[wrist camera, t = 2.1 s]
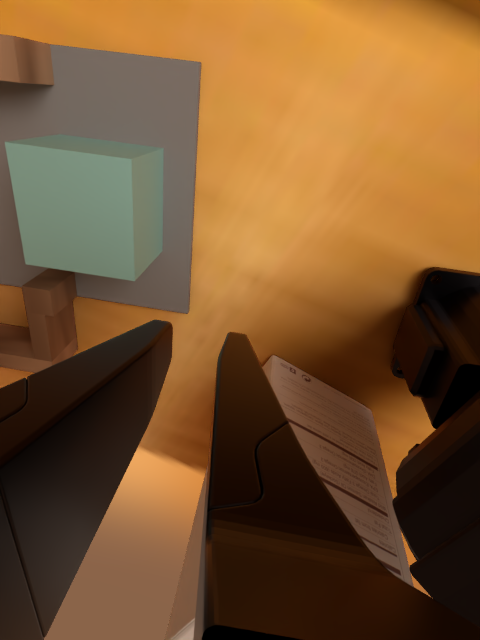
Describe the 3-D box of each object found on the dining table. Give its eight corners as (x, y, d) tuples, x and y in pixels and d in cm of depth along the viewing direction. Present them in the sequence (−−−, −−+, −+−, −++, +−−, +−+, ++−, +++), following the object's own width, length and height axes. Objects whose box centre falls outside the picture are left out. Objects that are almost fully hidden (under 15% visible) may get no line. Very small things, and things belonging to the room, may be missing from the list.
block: (163, 148, 18) (131, 159, 15) (162, 251, 21) (134, 281, 17) (59, 134, 19) (4, 142, 15) (70, 237, 21) (25, 264, 18)
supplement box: (305, 473, 28) (309, 716, 17) (214, 424, 27) (154, 650, 16) (376, 408, 24) (439, 662, 13) (274, 348, 23) (251, 572, 12)
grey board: (201, 62, 17) (199, 62, 16) (189, 311, 23) (187, 313, 22) (-231, 11, 18) (-239, 10, 18) (-136, 259, 24) (-141, 261, 24)
